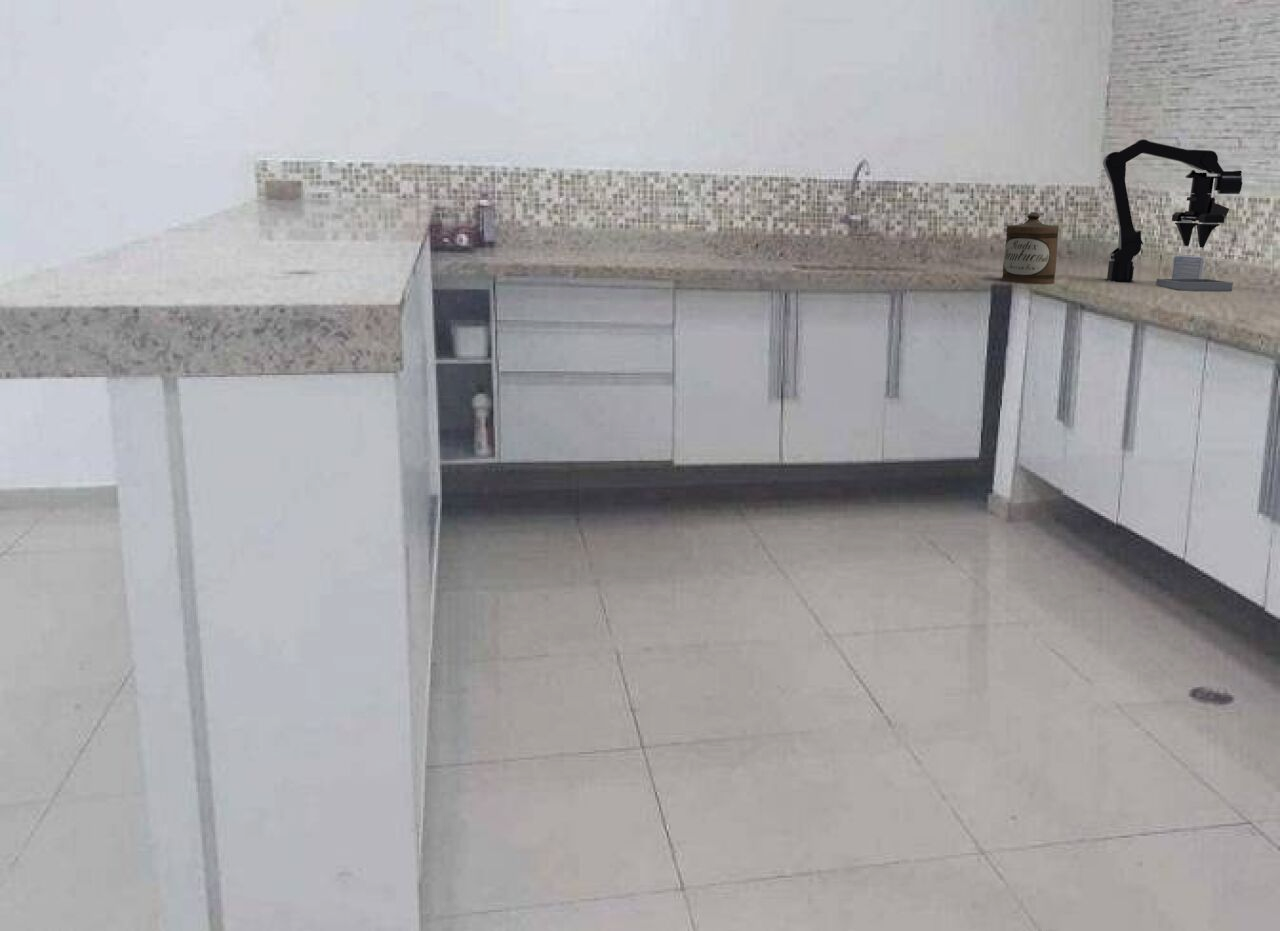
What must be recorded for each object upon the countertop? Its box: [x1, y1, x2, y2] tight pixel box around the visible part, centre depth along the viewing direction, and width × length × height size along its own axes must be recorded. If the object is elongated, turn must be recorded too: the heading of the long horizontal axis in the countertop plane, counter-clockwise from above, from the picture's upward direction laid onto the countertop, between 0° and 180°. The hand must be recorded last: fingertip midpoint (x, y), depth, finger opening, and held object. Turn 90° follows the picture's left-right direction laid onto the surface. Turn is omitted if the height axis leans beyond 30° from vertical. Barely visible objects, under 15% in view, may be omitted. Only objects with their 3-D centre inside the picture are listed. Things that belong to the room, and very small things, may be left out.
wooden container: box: [1001, 211, 1060, 285], centre depth 320 cm, size 15×15×22 cm
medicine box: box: [1171, 255, 1205, 279], centre depth 338 cm, size 8×4×9 cm, turn 54°
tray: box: [1155, 278, 1234, 292], centre depth 322 cm, size 16×13×2 cm
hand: (1194, 246), depth 328 cm, fingers open, 8 cm apart
